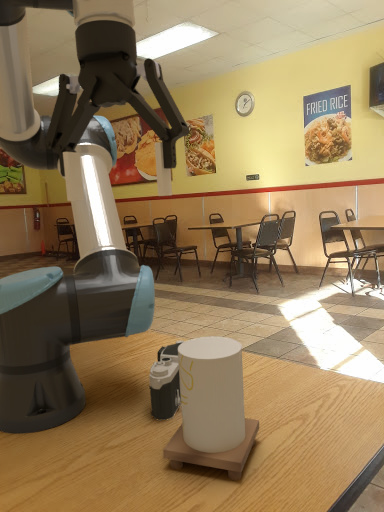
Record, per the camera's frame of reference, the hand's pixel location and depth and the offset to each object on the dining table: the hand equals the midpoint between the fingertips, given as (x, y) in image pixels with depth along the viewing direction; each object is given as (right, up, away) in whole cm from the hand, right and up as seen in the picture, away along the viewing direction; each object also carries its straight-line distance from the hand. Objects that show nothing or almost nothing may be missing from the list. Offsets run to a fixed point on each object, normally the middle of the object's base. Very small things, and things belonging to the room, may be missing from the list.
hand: (118, 198), depth 58 cm
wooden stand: (+13, -34, 0) cm, 37 cm away
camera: (+8, -33, +16) cm, 37 cm away
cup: (+13, -31, -1) cm, 34 cm away
